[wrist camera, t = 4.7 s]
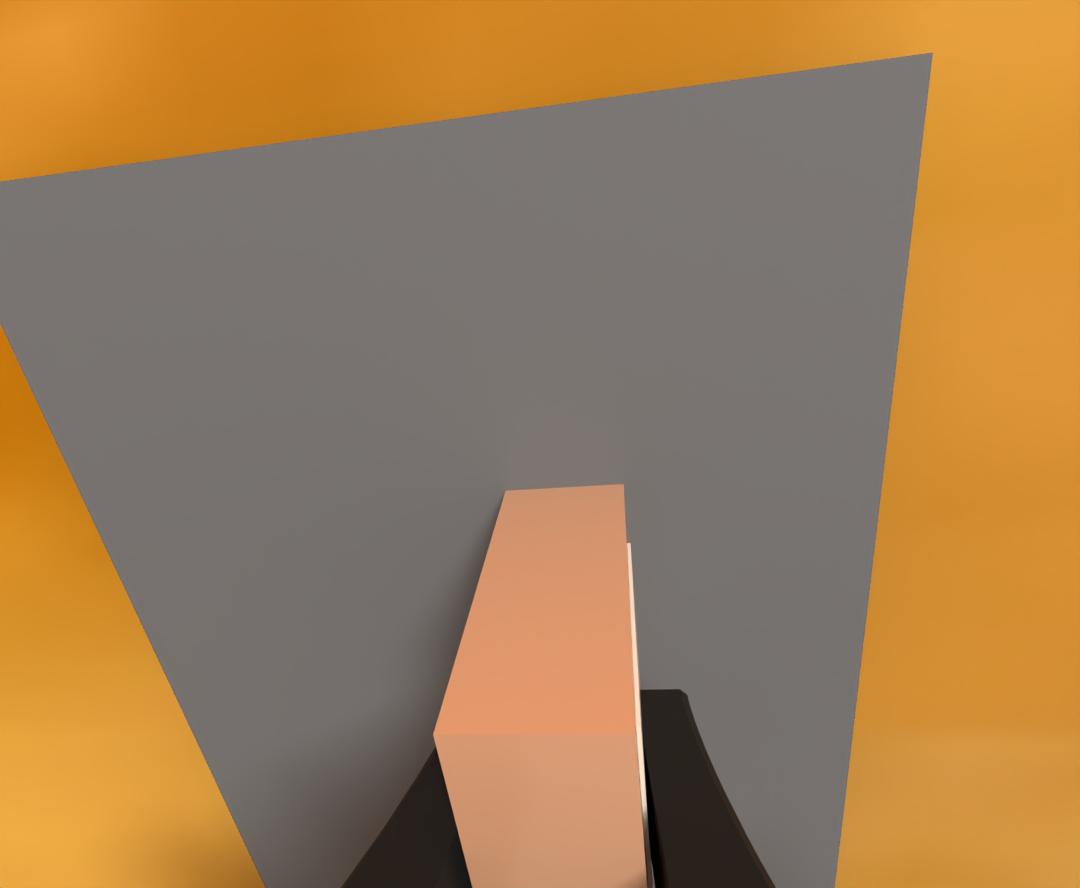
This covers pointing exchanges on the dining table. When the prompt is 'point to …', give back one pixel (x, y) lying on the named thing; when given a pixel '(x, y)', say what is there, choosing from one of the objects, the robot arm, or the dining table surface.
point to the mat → (487, 420)
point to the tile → (550, 701)
